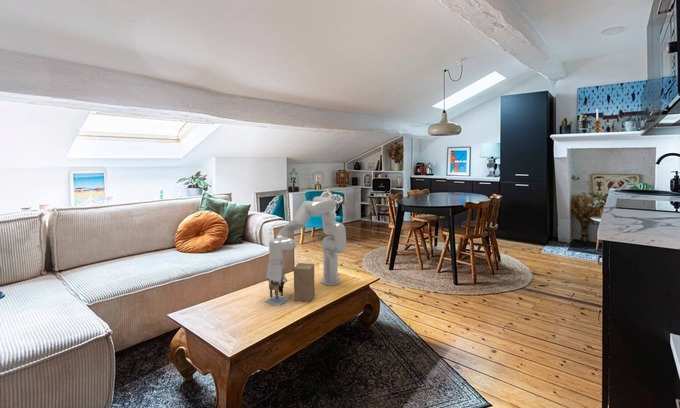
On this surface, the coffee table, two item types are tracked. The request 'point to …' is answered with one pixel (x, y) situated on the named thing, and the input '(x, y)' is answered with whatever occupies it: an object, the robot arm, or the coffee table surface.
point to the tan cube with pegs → (275, 288)
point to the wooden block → (304, 282)
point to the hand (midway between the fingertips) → (276, 290)
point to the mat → (276, 300)
